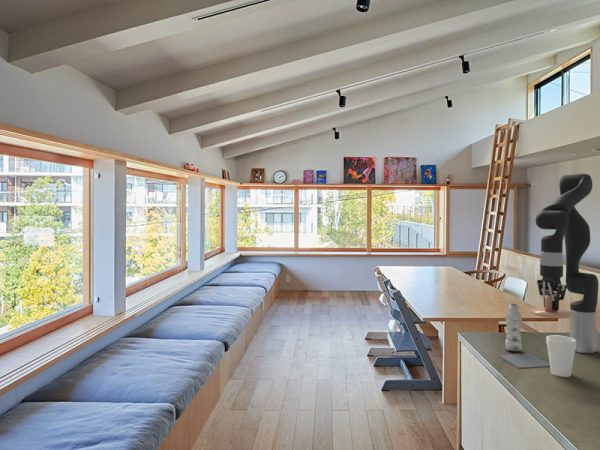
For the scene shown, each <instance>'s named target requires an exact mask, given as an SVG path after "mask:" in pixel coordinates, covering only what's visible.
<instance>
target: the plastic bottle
mask: <svg viewBox="0 0 600 450" xmlns="http://www.w3.org/2000/svg"><path fill="white" fill-rule="evenodd" d="M508 309H509V310H508V311H507V312H506V313H505V323H506V338H505V341H504V345H505V348H506V350H507V351H511V352H520V351H522V347H523V345H522V340H521V339H522V338H521V329H522V321H523V317H522V314H521V312H520V311H519V304H517V303H509V304H508Z"/></svg>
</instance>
